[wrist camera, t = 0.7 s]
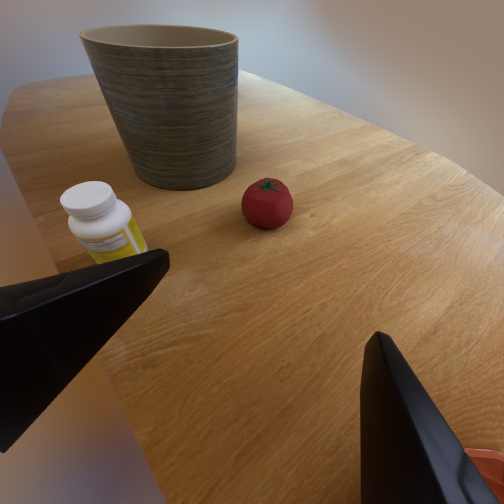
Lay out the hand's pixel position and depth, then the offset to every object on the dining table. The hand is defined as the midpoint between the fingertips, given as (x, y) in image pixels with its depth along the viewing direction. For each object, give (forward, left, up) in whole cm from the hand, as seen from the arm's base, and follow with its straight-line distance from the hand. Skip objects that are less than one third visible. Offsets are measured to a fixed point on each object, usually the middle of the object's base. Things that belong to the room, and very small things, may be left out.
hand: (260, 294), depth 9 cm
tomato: (+21, +13, -17) cm, 30 cm away
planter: (+24, +37, -17) cm, 47 cm away
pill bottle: (+1, +22, -17) cm, 28 cm away
